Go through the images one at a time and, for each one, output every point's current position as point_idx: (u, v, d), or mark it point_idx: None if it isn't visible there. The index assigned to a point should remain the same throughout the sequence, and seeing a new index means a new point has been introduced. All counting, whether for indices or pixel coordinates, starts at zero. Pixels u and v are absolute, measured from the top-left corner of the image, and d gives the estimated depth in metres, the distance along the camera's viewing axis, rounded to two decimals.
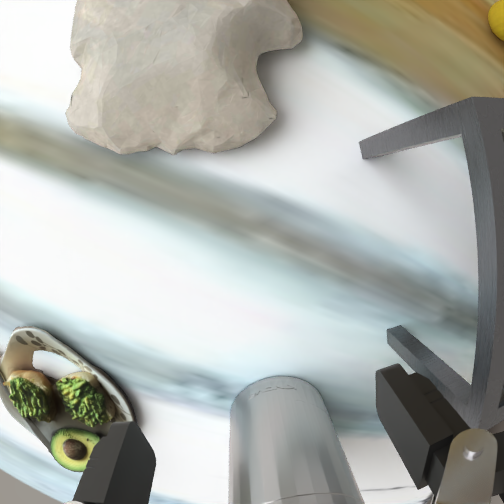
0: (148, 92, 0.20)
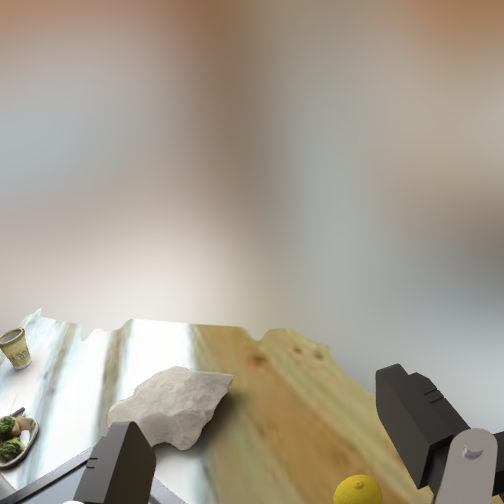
0: (124, 416, 0.47)
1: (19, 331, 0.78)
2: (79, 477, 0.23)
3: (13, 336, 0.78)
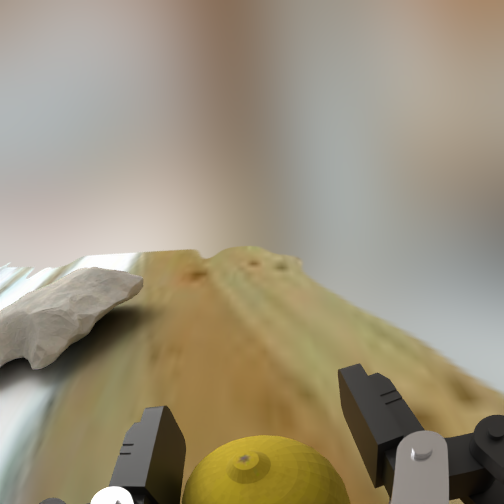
0: None
1: None
2: None
3: None
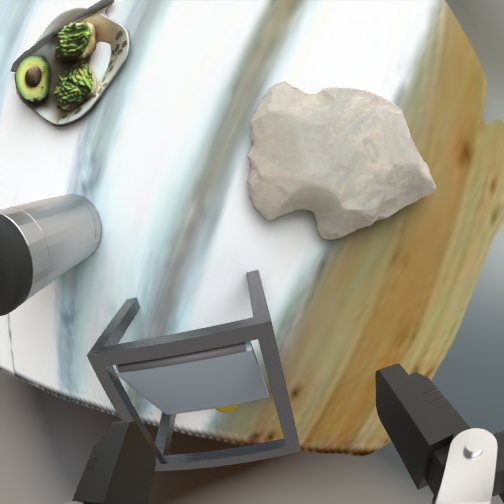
0: (286, 144, 0.35)
1: None
2: (212, 362, 0.30)
3: None
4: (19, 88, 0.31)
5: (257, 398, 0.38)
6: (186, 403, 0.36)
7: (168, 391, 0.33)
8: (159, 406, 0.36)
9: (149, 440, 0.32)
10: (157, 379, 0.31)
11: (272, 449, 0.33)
